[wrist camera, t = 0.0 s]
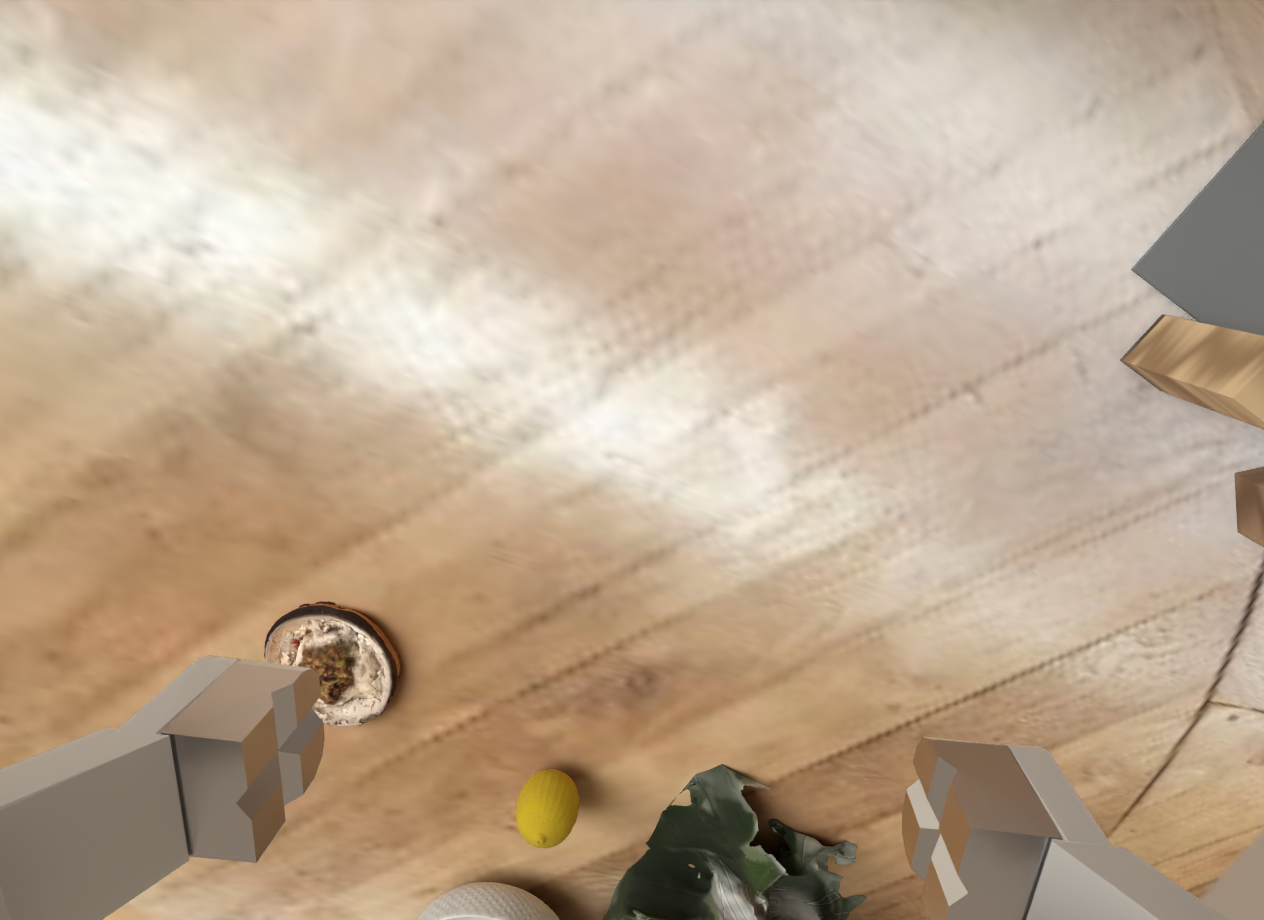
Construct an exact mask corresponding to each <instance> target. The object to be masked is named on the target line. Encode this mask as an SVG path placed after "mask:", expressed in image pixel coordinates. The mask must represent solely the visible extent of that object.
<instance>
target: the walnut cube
mask: <svg viewBox="0 0 1264 920" xmlns="http://www.w3.org/2000/svg"><path fill="white" fill-rule="evenodd" d="M1235 490H1236V510H1237V529H1238V532H1239V533H1240V534H1242V535H1244V536H1246V537H1247V538H1249V539H1251V540H1252V541H1254V542H1256V543H1258V544H1259V545H1261V546H1263V547H1264V467H1260V468H1256V469H1251V470H1246V471H1242V472H1237V473H1235Z"/></svg>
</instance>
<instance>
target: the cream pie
mask: <svg viewBox="0 0 1264 920" xmlns="http://www.w3.org/2000/svg"><path fill="white" fill-rule="evenodd" d="M264 656H265V660H266V662H268V663H276V664H283V665H291V666H298V667H306V668H312V669H313V670H314V671H315V672H317V673H318V674H319V680H320V688H321V696H320V698H319V699H318V700H317V701H316V703H315V704H314V705H313V707H312V709H313V710H314V711H315V713H316V714H317V715H318V716H319V718H320V719H321V720H322V721H323V722H324V723H325V722H326V723H327V725H329V726H330V727H331V726H336V727H350V726H360V725H362V723H365V722H367V721H369V720H370V719H373V718H377V717H375V715H381V714H382V713H383V711H384V710H385V707H386V705H387V704H388V703H389V699H390V697H391V696H393V695H394V692H395V689H396V685H397V682H398V680H399V678H400V674H401V670H402V664H401V660H400V656H399V655H398V654H397V653H396V652H395V651H394V649H393V646H392V645H391V643H390V642H389V640H388V639H387V637H386V636H385V635H384V633H383V632H382V630H380V628H379V627H378V626H377V625H375V624H374V623H373V622H371V621H370V620H369V619H368V618H367V617H365V616H364V615H362V614H361V613H359V612H356V611H354V610H351V609H349V608H345V609H340V608H339V606H337V605H336V604H335V603H332V602H317V603H315V604H304V605H301V606H299V608H297V609H295V610H293V611H291V612H289V613H288V614H286V615H284V616H282V617H281V618H280V619H278V620H277V621H276V622H275V624H274V625H273V626H272V628H271V629H270V631H269V632H268V634H267V638H266V641H265V654H264ZM336 724H337V725H336Z"/></svg>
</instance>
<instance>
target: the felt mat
mask: <svg viewBox="0 0 1264 920" xmlns="http://www.w3.org/2000/svg"><path fill="white" fill-rule="evenodd" d="M1131 270H1132V271H1134V272H1135V273H1136V274H1137V275H1139V276H1140V277H1141V278H1143V279H1144V280H1145V281H1147V282H1148V283H1149V284H1150V285H1152V286H1153V287H1154V288H1156V289H1157V290H1158V291H1160V292H1161V293H1162V294H1163V295H1165V296H1166V297H1167V298H1169V299H1170V300H1171V301H1173V302H1174V303H1175V304H1176V305H1178V306H1179V307H1180V308H1182V309H1183V310H1184V311H1186V312H1187V313H1188V314H1189V315H1191V316H1192V317H1193V318H1195V319H1196V320H1197V321H1199V322H1200V323H1205V324H1210V325H1214V326H1219V327H1224V328H1229V329H1233V330H1238V331H1243V332H1248V333H1252V334H1257V335H1262V336H1264V122H1263V123H1262V124H1261V125H1260V126H1259V128H1258V129H1257V130H1256V131H1255V132H1254V133H1253V134H1252V135H1251V136H1250V138H1249V139H1248V140H1247V141H1246V142H1245V143H1244V144H1243V145H1242V147H1241V148H1240V149H1239V150H1238V151H1237V152H1236V153H1235V154H1234V155H1233V157H1232V158H1231V159H1230V160H1229V161H1228V162H1227V163H1226V164H1225V166H1224V167H1223V168H1222V169H1221V170H1220V171H1219V172H1218V173H1217V174H1216V176H1215V177H1214V178H1213V179H1212V180H1211V181H1210V182H1209V183H1208V184H1207V186H1206V187H1205V188H1204V189H1203V190H1202V191H1201V192H1200V193H1199V195H1198V196H1197V197H1196V198H1195V199H1194V200H1193V201H1192V202H1191V203H1190V205H1189V206H1188V207H1187V208H1186V209H1185V210H1184V211H1183V212H1182V214H1181V215H1180V216H1179V217H1178V218H1177V219H1176V220H1175V221H1174V222H1173V224H1172V225H1171V226H1170V227H1169V228H1168V229H1167V230H1166V231H1165V233H1164V234H1163V235H1162V236H1161V237H1160V238H1159V239H1158V240H1157V241H1156V243H1155V244H1154V245H1153V246H1152V247H1151V248H1150V249H1149V250H1148V252H1147V253H1146V254H1145V255H1144V256H1143V257H1142V258H1141V259H1140V260H1139V262H1138V263H1137V264H1136V265H1135V266H1134V267H1133V268H1132V269H1131Z"/></svg>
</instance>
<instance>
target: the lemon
mask: <svg viewBox="0 0 1264 920" xmlns="http://www.w3.org/2000/svg"><path fill="white" fill-rule="evenodd" d="M578 809H579V796H578V790H577V788H576V785H575V783H574V782H573V780H572V779H571V778H570V777H569V776H568V775H567V774H566V773H564V772H562V771H560V770H556V769H545V770H542V771H539V772H537V773H535V774H534V775H533V776H532V777H530V778H529V779H528V781H527V782H526V783H525V785H524V786H523V788H522V790H521V792H520V795H519V798H518V802H517V807H516V821H517V826H518V829H519V832H520V834H521V835H522V837H523V838H524V839H525V840H526V841H527V842H528V843H529V844H531V845H533V846H535V847H538V848H550V847H553V846H556V845H558V844H559V843H561V842H562V841H563V840H564V839H565V838H566V837H567V836H568V835H569V833H570V832H571V830H572V828H573V826H574V824H575V822H576V819H577V815H578Z"/></svg>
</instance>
